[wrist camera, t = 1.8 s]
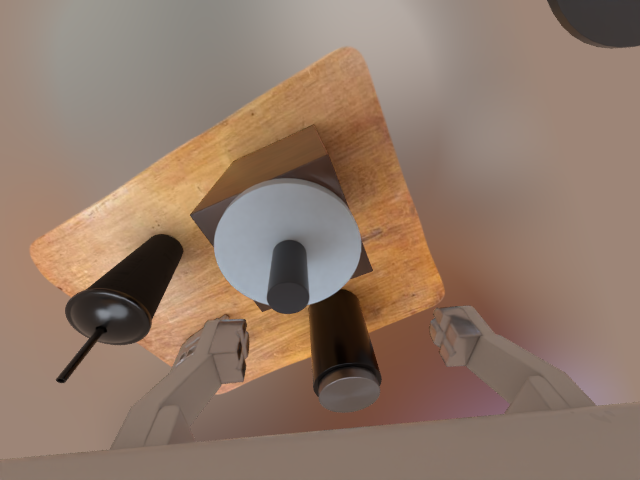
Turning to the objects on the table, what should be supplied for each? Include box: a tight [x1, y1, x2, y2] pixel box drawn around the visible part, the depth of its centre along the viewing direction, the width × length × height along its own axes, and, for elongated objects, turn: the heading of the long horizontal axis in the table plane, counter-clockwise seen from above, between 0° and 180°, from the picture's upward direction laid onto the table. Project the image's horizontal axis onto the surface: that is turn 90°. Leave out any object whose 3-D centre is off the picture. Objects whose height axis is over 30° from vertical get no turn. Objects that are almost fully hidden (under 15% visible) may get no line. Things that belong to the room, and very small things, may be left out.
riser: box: [190, 125, 373, 312], centre depth 28 cm, size 11×11×16 cm
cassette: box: [170, 315, 229, 372], centre depth 44 cm, size 12×2×8 cm, turn 128°
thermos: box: [309, 289, 382, 412], centre depth 41 cm, size 9×9×16 cm
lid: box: [214, 178, 361, 314], centre depth 19 cm, size 11×11×6 cm
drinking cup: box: [56, 234, 183, 383], centre depth 30 cm, size 8×8×20 cm
